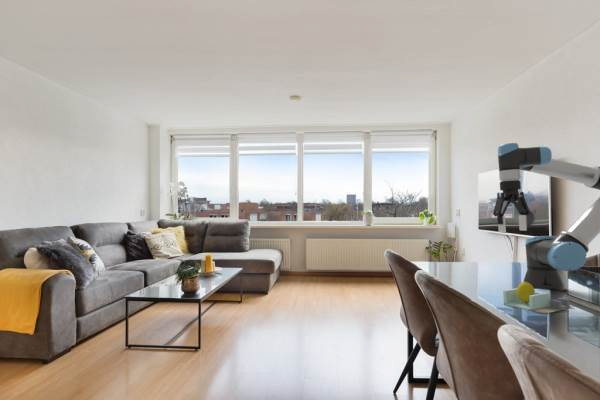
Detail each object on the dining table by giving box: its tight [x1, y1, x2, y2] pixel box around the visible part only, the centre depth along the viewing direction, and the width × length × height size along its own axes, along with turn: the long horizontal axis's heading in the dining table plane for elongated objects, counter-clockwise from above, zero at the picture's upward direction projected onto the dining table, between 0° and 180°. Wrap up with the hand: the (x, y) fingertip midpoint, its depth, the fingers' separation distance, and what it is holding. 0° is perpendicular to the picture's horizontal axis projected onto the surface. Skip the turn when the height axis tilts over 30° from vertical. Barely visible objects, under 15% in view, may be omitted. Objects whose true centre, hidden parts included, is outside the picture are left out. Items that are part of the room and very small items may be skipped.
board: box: [516, 305, 575, 315], centre depth 127 cm, size 17×14×1 cm
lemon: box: [516, 280, 536, 304], centre depth 128 cm, size 6×6×8 cm
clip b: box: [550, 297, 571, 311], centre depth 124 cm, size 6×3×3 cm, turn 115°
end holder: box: [502, 287, 551, 312], centre depth 128 cm, size 10×10×5 cm
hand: (512, 231), depth 148 cm, fingers open, 13 cm apart
